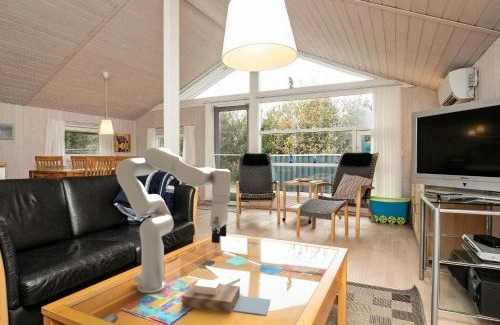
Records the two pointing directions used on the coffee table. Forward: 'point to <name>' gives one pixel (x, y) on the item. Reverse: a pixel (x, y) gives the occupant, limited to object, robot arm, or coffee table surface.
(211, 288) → the white rectangular block
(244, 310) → the mat
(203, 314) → the coffee table surface
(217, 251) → the coffee table surface
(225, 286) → the block
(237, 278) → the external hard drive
